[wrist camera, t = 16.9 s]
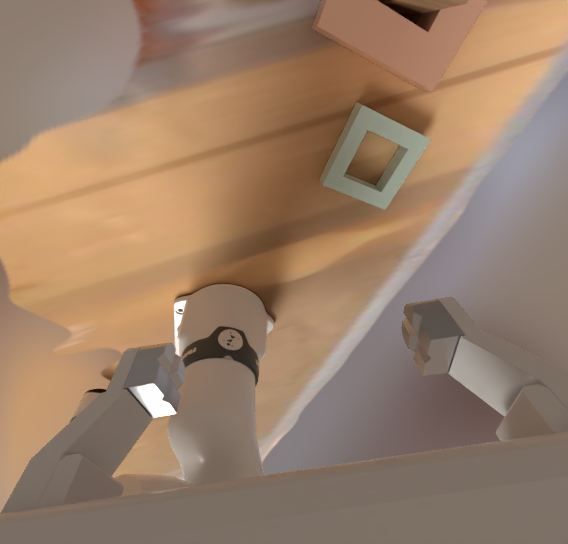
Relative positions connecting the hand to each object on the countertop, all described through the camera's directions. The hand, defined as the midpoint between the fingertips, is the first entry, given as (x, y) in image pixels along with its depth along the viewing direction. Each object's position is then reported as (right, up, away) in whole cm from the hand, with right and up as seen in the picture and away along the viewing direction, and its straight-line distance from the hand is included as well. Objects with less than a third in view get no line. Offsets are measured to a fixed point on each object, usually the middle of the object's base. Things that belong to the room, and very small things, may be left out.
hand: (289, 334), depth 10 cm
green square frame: (+11, +18, +29) cm, 36 cm away
